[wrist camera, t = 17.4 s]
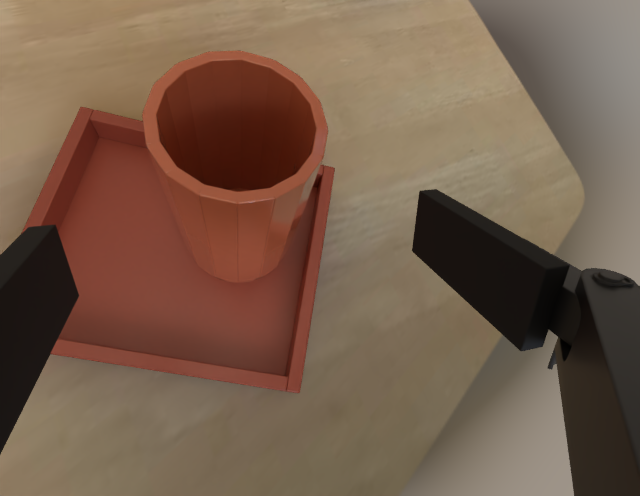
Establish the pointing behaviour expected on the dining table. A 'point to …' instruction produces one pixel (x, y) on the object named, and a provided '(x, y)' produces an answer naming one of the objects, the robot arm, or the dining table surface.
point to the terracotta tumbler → (235, 157)
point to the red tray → (169, 270)
